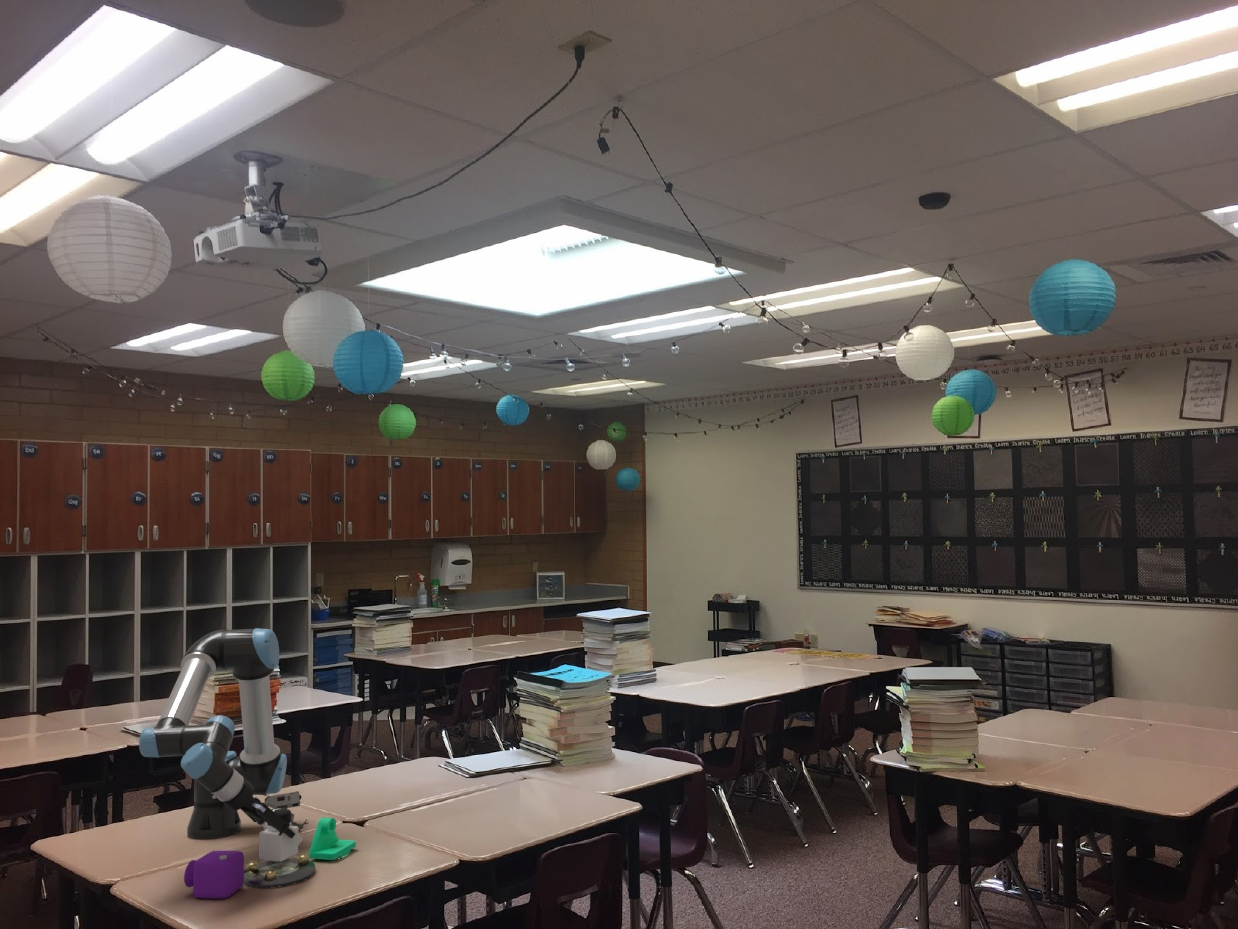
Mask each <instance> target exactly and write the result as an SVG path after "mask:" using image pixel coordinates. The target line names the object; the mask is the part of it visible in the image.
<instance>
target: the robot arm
mask: <svg viewBox="0 0 1238 929" xmlns="http://www.w3.org/2000/svg"><path fill="white" fill-rule="evenodd" d="M275 633H276V632H274V631H273V630H272V629H269V628H258V627H255V628H246V629H245V628H243V629H240V628H239V629H218V630H215V631H214V630H213V631H211V632H210V633H207V634H205V635H204V636H202V637H200V639H198V640H196V641H195V642H194V643H193V644H192V645H191V646H190V647H189V648H188V650H186V652H185V654H184V655H183V657H182V660H181V662H180V673H179V674H178V677H177V680H176V682H175V684H174V686H173V688H172V691H171V693H170V695H169V698H168V699H167V702H166V703H165V706H164V708H163V710H162V713H161V714H160V717H159V719H158V721H157V723H156V725H155V726H149V727H146V728H143V730H142V731H141V733H140V735H139V740H138V748H139V749H138V750H139V752H140V754H141V755H142V756H143V757H144V758H145V757H146V758H164V757H165V758H166V757H167V758H168V757H182V758H181V761H180V767H181V768H182V769H183V771H184V772H186V773H187V775H188V776H189V777H190V778H191V779H193V781H194V784H193V789H194V790H193V793H194V794H193V795H194V796H193V810H192V814H191V816H190V819H189V822H188V826H187V829H186V830H187V831H186V832H187V833H186V834H187V837H188V838H190V839H194V838H196V840H210V839H212V840H213V839H218V838H224V837H228V836H231V835H235V834H237V833H238V832H239V831H241V829H242V821H241V818H240V817H241V816H240V814H239V812H238V811H239V810H241V811H242V812H243V813H244V814H245V815H246V816H247V817H249V819H251V821H252V822H253V823H256V824H257V825H259V826H261V828H262V827H263V828H262V829H263V830H265V829H268V828H267V823H268V824H269V825H271V826H272V827H273V828H275V829H276V830H278V831H279V832H280V833H279V834H278V835H279V836H281V835H282V836H283V837H284V838H286V839H287V840H288V841H289V842H290V843H291V844H293V845H294V846H295V847H298V848H299V845H300V844H301V843H302V841H303V840H304V839H305V838H304V837H303V836H302V835H300V833H299V832H298V833H297V832H296V831H295V830H294V829H292V828H291V827H290V824H289V823H288V822H286V821H285V820H284V819H283V818H281V817H280V816H279V815H277V814H276V813H275V812H274V811H272V810H271V807H268V806H266V805H265V803H264V802H262V801H261V800H260V799H259V798H258V797H254V796H257V795H260V796H261V795H265V796H268V795H272V794H273V795H276V794H278V793H279V792H281V790H282V788H283V785H284V782H285V778H286V772H287V765H288V764H287V763H288V756H287V755H286V754H284V753H281V749H280V748H281V747H280V746H279V745H278V744H276V743H275V738H274V734H275V733H274V725H273V722H274V721H273V710H272V709H273V707H272V695H271V683H270V682H271V681H270V676H271V675H273V673H274V671H275V668H277V667H278V666H279V662H280V647H279V641H278V637H277V636H276V634H275ZM221 670H223V671H225V670H226V671H227V670H232V677H233V678H234V679H235V680H237V681H238V687H239V699H240V701H239V702H240V711H241V721H242V737H243V745H244V746H243V748H244V749H243V750H241V752H240V753H239V756H238V755H237V752H236V751H234V750H230V747H231V745H232V742H233V740H234V734H235V730H236V725H235V722H234V721H233V720H232V719H231V718H229V717H228V716H225V715H220V714H219V715H214V716H212V717H210V718H208V720H207V721H206V722H205V723H204V724H195V725H190V722H191V720H192V717H193V715H194V713H195V711H196V708H197V706H198V703H199V701H200V699H201V696H202V694H203V691H204V690H205V687H206V684H207V682H208V680H209V679H210V678H211V677H213V676H214V674H215V673H216V671H221Z"/></svg>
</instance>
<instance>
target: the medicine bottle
mask: <svg viewBox="0 0 1238 929" xmlns="http://www.w3.org/2000/svg"><path fill="white" fill-rule="evenodd" d="M273 809H274V808H273ZM272 811H274V812H275V813H276V814H277V815H279V816H280V817H281V818H283V819H284V820H285V821H286V822H288V823H289V824H290V825H291V813H292V811H291V809H289V808H287V809H285V808H280V809H274V810H272ZM290 827H291V828H292V829H294V830H295V831H296V832H297V833H298V834H299V832H298V830H299V827H297V826H293V825H292V826H290ZM267 828H268V829H262V830H261V831H259V834H258V838H259V839H258V859H259V861H260V860H261V861H277V862H282V861H284V860H286V859H289V858H291V857H294V856H296V855H298V854H299V846H298V847H295V846H294V845H293V844H291V843H290V842H289V841H288V840H287V839H286V838H284V837H283V836H282V835H281V836H279V835H278V834H279V833H280V832H279V831H278V830H276V829H275V828H273V827H272V826H271V825H269V824H268V823H267Z"/></svg>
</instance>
